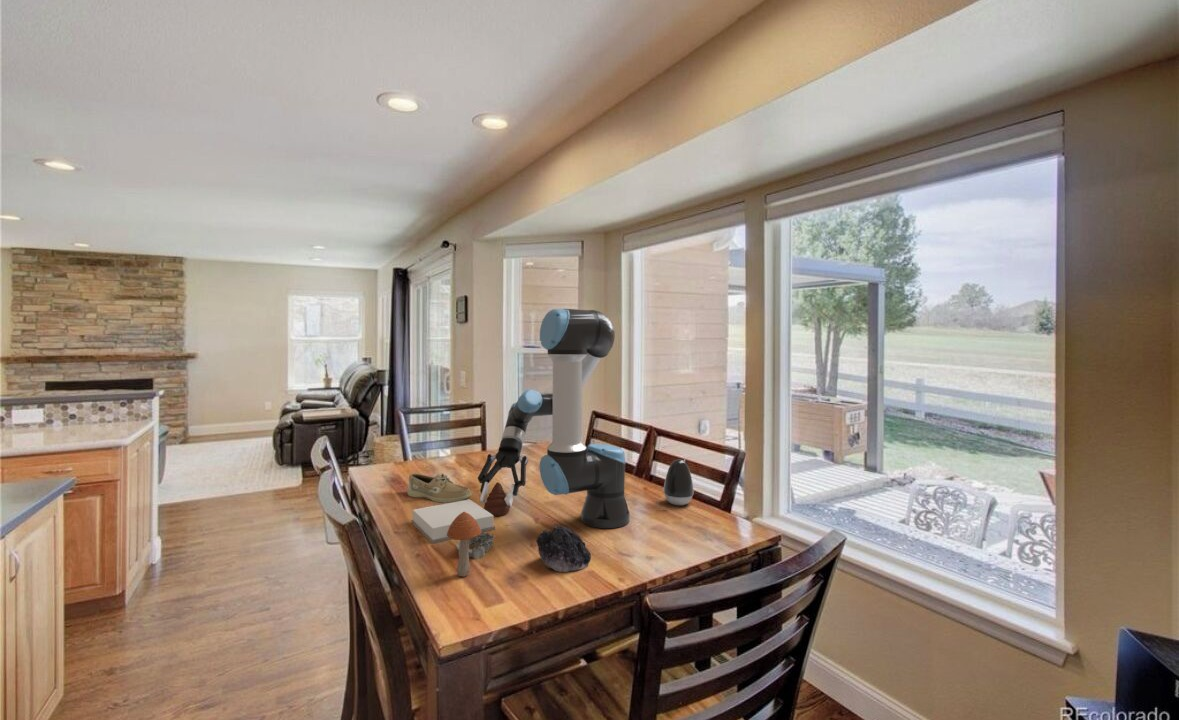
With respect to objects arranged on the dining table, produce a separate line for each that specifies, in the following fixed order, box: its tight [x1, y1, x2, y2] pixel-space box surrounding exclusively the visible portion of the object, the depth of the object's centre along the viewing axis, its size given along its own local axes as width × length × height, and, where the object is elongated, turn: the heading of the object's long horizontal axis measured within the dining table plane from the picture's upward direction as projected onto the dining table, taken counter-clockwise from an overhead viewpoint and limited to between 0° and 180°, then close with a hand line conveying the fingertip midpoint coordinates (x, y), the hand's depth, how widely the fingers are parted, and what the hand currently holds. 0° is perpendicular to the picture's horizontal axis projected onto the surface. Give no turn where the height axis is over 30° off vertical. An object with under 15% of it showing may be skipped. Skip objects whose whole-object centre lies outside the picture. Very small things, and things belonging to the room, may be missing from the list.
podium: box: [411, 498, 496, 544], centre depth 152 cm, size 19×19×4 cm
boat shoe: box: [406, 472, 472, 504], centre depth 178 cm, size 25×9×8 cm, turn 69°
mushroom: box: [447, 512, 481, 578], centre depth 121 cm, size 8×8×15 cm
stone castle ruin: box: [456, 532, 495, 560], centre depth 135 cm, size 11×8×4 cm
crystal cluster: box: [535, 525, 592, 573], centre depth 129 cm, size 13×14×10 cm
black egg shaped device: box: [663, 458, 694, 506], centre depth 176 cm, size 10×10×15 cm
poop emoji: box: [483, 482, 511, 517], centre depth 164 cm, size 10×8×9 cm
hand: (495, 503), depth 161 cm, fingers closed on poop emoji, 8 cm apart
